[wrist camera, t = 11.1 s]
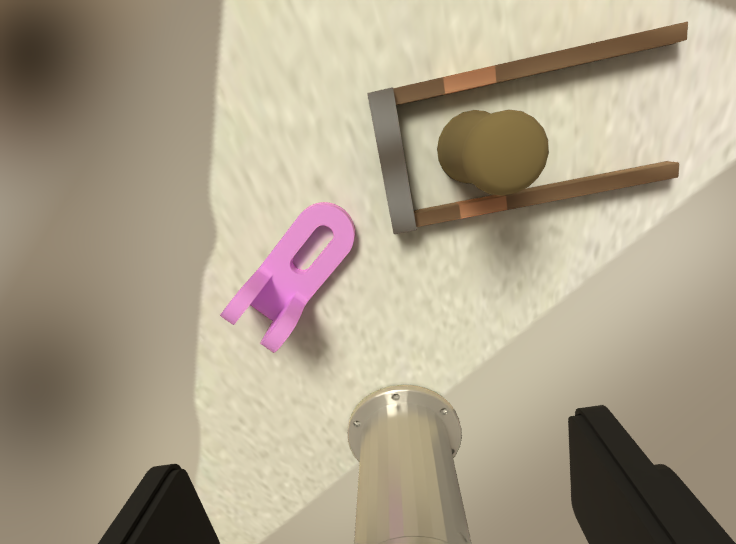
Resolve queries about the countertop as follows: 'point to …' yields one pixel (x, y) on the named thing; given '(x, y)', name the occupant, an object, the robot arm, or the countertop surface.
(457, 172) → the cork
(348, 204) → the countertop surface
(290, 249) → the bracket
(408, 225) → the guide channel
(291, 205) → the countertop surface
